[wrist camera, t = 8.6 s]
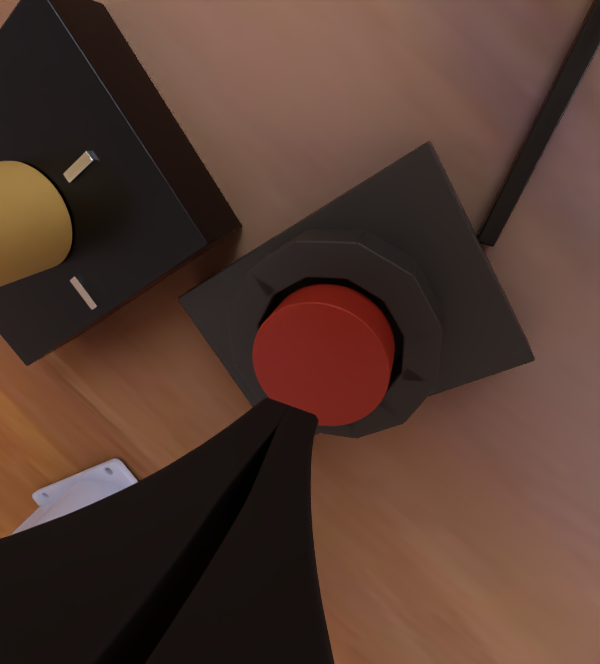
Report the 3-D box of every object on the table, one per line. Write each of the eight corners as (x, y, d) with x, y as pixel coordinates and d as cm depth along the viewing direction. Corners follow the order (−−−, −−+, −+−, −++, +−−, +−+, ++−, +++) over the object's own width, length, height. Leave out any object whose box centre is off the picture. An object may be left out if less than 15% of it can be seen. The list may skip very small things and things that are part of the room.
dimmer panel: (73, 338, 23) (23, 368, 20) (-47, 185, 21) (-121, 195, 18) (243, 226, 17) (206, 245, 15) (103, 3, 15) (29, -24, 12)
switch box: (291, 424, 21) (266, 475, 18) (196, 285, 19) (150, 315, 16) (526, 339, 16) (547, 389, 13) (429, 140, 14) (427, 144, 11)
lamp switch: (311, 412, 16) (297, 441, 15) (247, 316, 15) (226, 337, 14) (418, 372, 14) (416, 402, 13) (353, 259, 13) (342, 276, 12)
